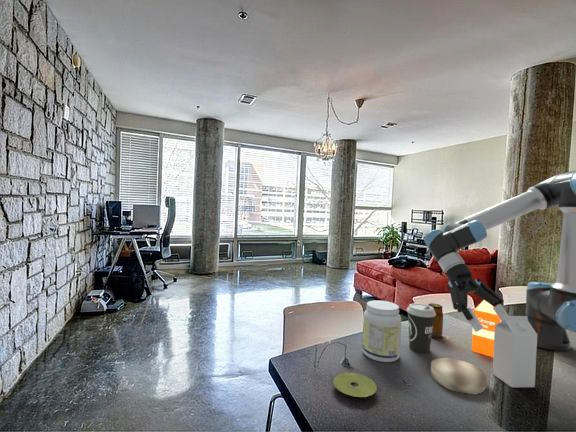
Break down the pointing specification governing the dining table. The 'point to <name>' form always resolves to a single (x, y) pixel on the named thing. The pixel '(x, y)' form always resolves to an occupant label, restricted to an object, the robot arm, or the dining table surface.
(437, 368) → the birch stand
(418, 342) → the coffee cup
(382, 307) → the supplement tub
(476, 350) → the orange juice
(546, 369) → the dining table surface
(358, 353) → the dining table surface
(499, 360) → the milk carton
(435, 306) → the condiment
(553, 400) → the dining table surface
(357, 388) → the green disc
